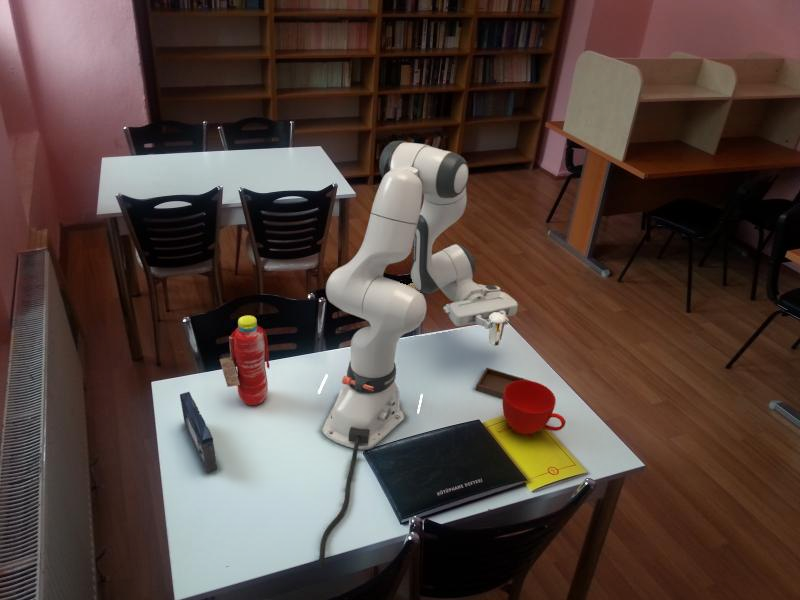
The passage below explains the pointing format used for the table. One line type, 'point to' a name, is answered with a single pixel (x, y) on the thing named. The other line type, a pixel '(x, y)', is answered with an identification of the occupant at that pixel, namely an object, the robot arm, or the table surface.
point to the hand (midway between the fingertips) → (498, 324)
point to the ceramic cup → (529, 407)
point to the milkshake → (496, 328)
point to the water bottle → (247, 361)
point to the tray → (495, 382)
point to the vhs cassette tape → (198, 432)
